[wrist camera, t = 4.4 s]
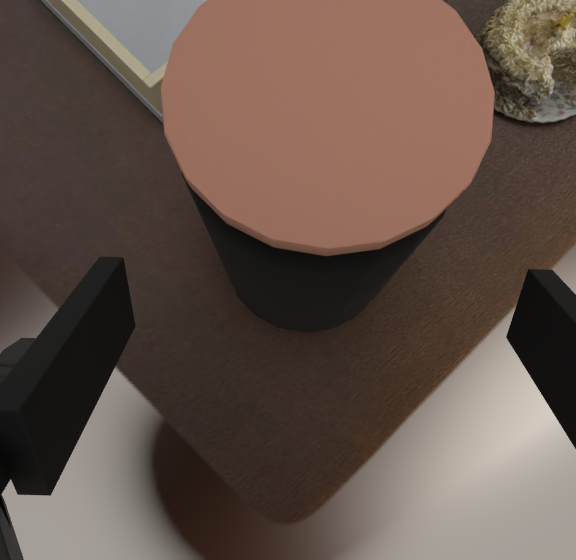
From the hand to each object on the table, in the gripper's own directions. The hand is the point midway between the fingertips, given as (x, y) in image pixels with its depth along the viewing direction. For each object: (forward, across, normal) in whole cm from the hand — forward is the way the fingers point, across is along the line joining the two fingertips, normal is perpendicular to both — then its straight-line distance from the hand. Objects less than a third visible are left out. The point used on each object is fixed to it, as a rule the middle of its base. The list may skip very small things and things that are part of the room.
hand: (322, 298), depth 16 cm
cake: (+26, +17, +4) cm, 32 cm away
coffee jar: (+16, 0, -7) cm, 17 cm away
